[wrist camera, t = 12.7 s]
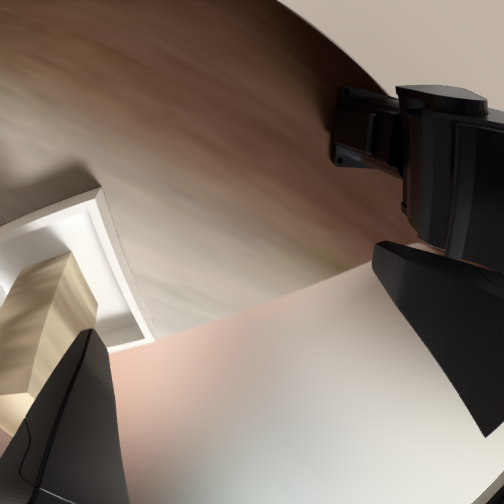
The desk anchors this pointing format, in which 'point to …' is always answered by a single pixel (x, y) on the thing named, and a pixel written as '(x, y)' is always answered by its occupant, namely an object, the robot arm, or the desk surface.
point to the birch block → (39, 330)
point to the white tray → (81, 262)
